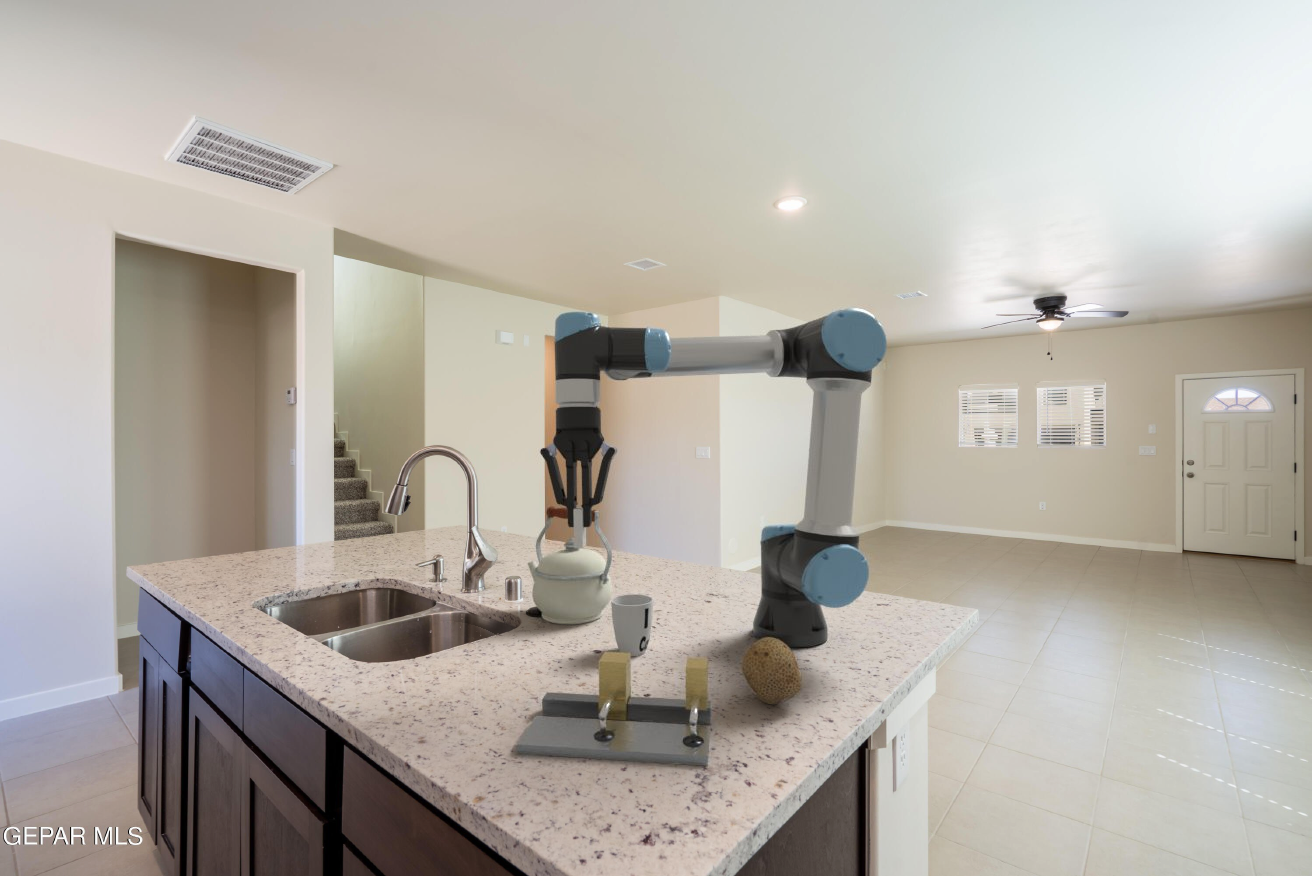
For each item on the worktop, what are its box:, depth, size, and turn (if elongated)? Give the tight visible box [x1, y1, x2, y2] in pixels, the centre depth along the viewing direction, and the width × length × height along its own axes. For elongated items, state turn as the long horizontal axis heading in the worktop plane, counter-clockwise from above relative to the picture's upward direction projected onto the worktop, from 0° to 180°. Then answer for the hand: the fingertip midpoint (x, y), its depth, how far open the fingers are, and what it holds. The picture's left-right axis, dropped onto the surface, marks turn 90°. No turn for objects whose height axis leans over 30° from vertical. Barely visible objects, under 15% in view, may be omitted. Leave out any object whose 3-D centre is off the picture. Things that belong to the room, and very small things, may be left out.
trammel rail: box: [541, 656, 712, 740], centre depth 86 cm, size 25×11×8 cm, turn 83°
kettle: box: [527, 505, 613, 625], centre depth 140 cm, size 25×18×25 cm
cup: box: [610, 593, 654, 657], centre depth 116 cm, size 8×8×10 cm
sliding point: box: [598, 651, 632, 734], centre depth 86 cm, size 4×11×8 cm, turn 173°
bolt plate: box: [515, 715, 711, 767], centre depth 81 cm, size 25×8×1 cm, turn 83°
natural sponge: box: [741, 637, 802, 705], centre depth 94 cm, size 9×9×10 cm
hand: (580, 546), depth 101 cm, fingers closed
